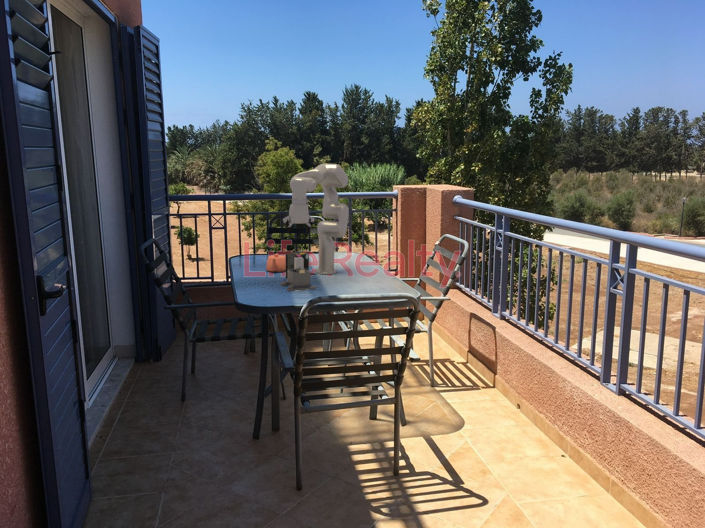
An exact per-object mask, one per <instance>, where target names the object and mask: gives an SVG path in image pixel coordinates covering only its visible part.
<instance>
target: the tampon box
mask: <svg viewBox="0 0 705 528" xmlns="http://www.w3.org/2000/svg"><path fill="white" fill-rule="evenodd" d="M294 257H302V258H304V268H305V269H307V270H308V271H310V270H309V269H310V268H309V267H310V265H309V264H310V263H309V262H310V260H309V259H310V254H309V253H308V252H302V251H297V250H296V251H293V252H287V253H285V258H286V270H285V279H287V269H294Z"/></svg>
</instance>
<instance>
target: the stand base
mask: <svg viewBox="0 0 705 528" xmlns="http://www.w3.org/2000/svg"><path fill="white" fill-rule="evenodd" d="M311 273H312V272H311V271H310V270H309V271H308V270H307V269H305V268H304V270H299V272H294V269H287V278H286V279H287V281H280V285H281V286H282V287H283V286H288V287H287V288H286V291H287V290H288V292H296V291H295V290H301V291H307V290H306V289H315V290H317V289H318V286H316V285H311V278H312V277H311ZM316 288H317V289H316Z"/></svg>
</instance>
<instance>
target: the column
mask: <svg viewBox="0 0 705 528" xmlns="http://www.w3.org/2000/svg"><path fill="white" fill-rule="evenodd" d="M299 270H304V258H302V257H294V272H299Z"/></svg>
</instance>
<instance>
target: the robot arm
mask: <svg viewBox="0 0 705 528" xmlns="http://www.w3.org/2000/svg"><path fill="white" fill-rule="evenodd" d="M348 182H349V178H348V175H347V173H346V172H345V171H344V168H342V166H340V165H339V164H337V163H321V164H319V165H318V166H316V167H314V168H313V169H311V170H306V171H303V172H299V173H297V174H295V175H294V176H292V177H291V179H290V181H289V188H290V189H291V196H292V197H291V204H290V205H289V211H288V215H287V216H285V217H284V218H282V221H283V223H284V224H285V225H286V227H287V233H288V235H290V236H292V232H293V231H292V229H293V228H292V226H293V225H295V224H296V225H297V224H298V225H299V224H300V225H301V224H302V225H303V224H305V225H306V227H305V234H307V235H310V232H311V227H312V225H313V224H314V222H315V220H316V218H315V217H312V216H311V215H310V214H309V213H310V212H309V206H308V203H309V202H310V201H309V199H307V192H309V193H312V192H314V191H315V190H316V189H317V185H320V186H321V188H322V190H323V202H322V203H323V204H322V210H321V211H322V212H321V214H322V217H323V218H325V219H330V220H321V221H319V222H318V223H317V227H316V228H317V234H318V268H317V269H315V272H316V274H320V275H335V274H336V273H337V269H335V247H336V246H335V245H336V244H335V241H334V239H333V238H339V239H340V238H344V237H345V236H346V233H347V230H348V228H347V227H348V221H349V214H350V213H349V211H350V210H349V207H348V205H347V204H346V203H338V202H339V194H338V192H337V191H338V190H337V189H336V188H341V189H342V188H345V187H347V185H348ZM337 220H338V221H337ZM287 221H288V222H287Z"/></svg>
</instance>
